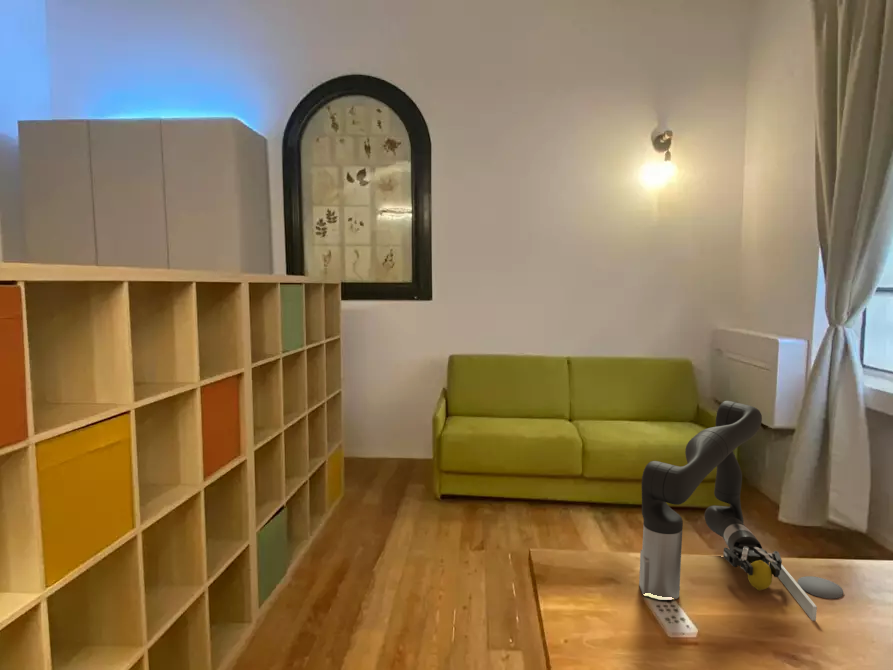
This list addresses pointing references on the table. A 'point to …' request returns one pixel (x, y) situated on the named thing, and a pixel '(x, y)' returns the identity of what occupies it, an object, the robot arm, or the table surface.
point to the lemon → (760, 575)
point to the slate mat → (820, 587)
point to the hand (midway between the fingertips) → (764, 572)
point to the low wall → (798, 593)
